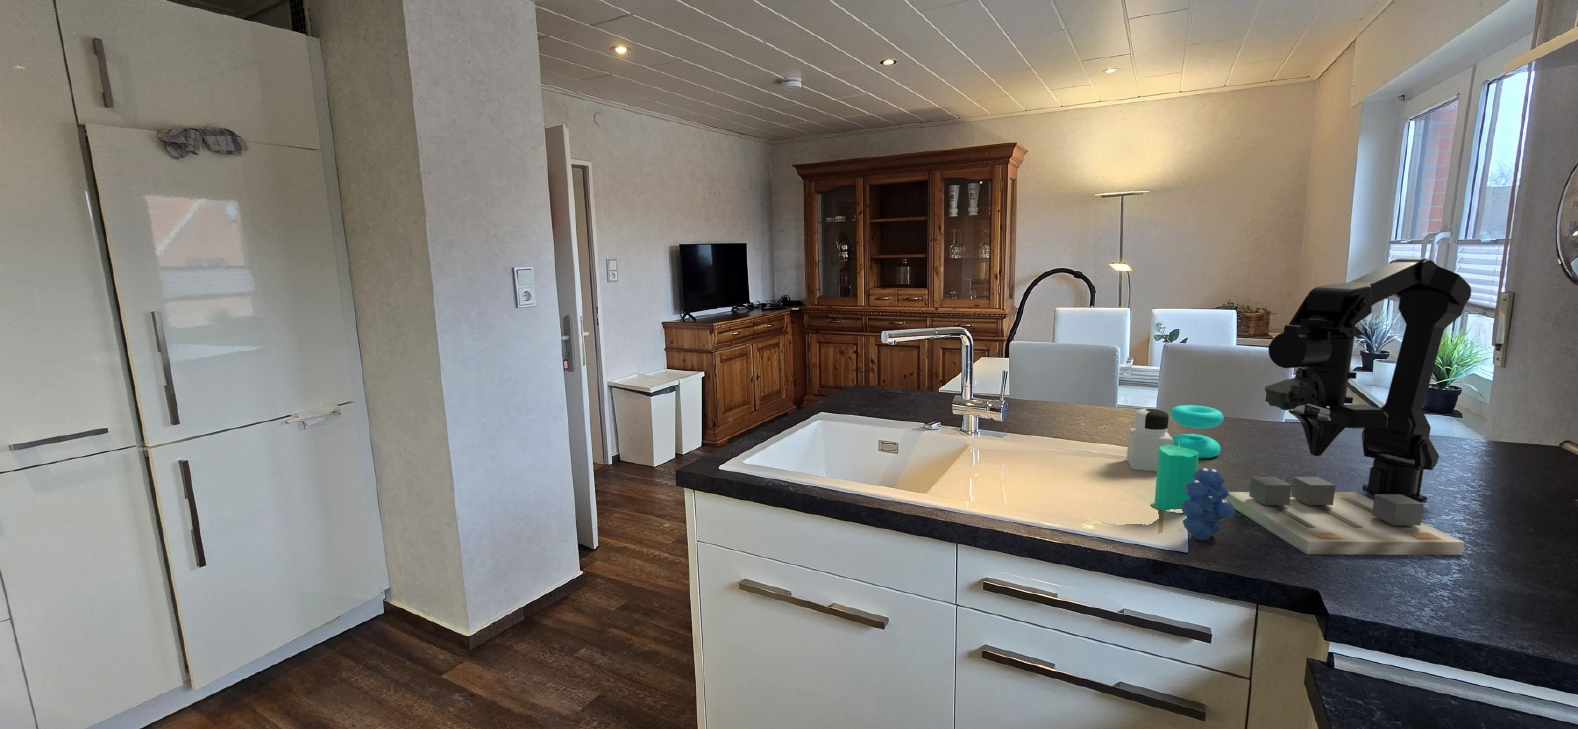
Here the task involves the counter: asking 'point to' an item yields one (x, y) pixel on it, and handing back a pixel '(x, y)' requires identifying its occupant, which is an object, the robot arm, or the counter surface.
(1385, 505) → the grey boxy piece
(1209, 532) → the grapes
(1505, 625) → the counter surface
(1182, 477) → the candle
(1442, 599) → the counter surface
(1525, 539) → the counter surface
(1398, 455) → the robot arm
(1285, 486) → the tab far
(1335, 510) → the switch panel
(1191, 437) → the donuts
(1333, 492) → the tab middle
